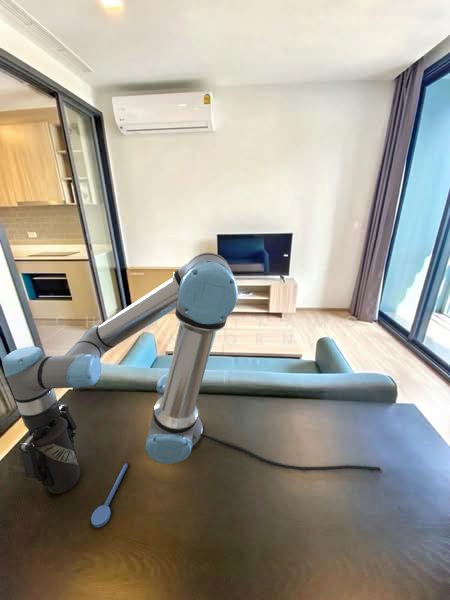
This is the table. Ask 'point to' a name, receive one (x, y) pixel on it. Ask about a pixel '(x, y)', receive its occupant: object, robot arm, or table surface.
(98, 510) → the spoon
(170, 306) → the robot arm
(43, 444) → the container
